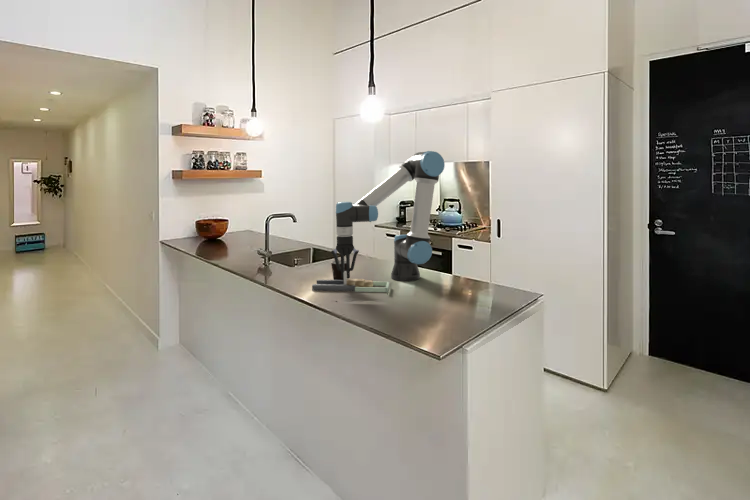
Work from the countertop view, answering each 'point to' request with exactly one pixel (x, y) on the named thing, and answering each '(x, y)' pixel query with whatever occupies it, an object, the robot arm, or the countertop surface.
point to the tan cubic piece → (351, 281)
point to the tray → (374, 289)
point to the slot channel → (332, 286)
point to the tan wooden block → (359, 282)
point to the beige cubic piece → (368, 283)
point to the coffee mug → (335, 272)
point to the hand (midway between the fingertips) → (345, 285)
